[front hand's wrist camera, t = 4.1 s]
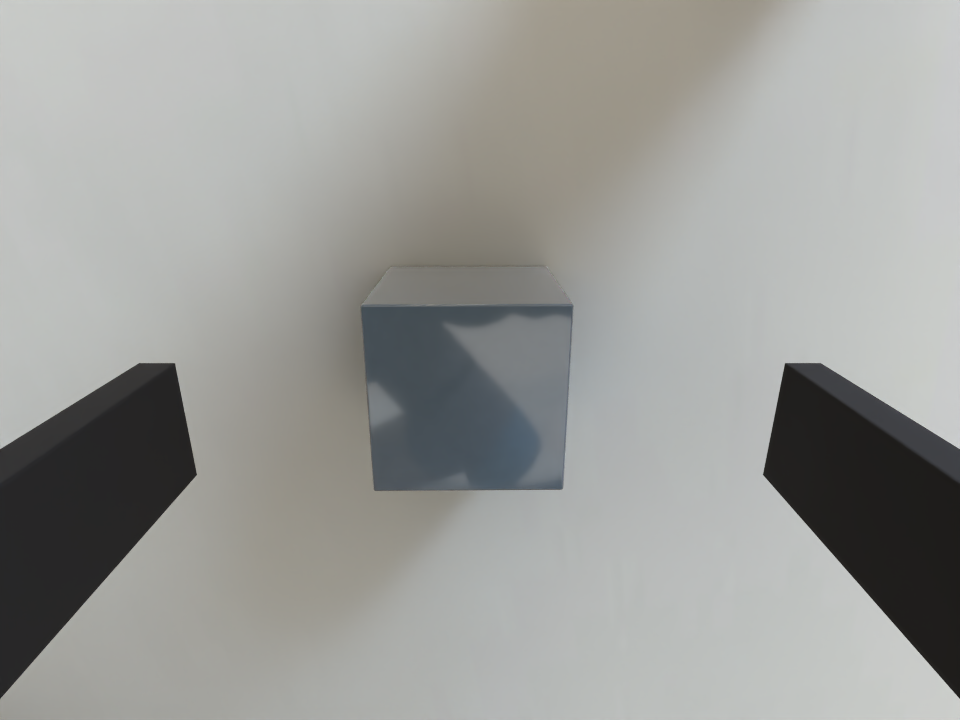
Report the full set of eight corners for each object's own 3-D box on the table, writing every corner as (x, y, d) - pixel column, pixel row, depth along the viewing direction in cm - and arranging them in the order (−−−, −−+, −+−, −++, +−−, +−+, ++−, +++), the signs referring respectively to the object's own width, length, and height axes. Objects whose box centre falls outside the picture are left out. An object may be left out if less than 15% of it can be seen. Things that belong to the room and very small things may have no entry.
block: (397, 411, 19) (373, 491, 15) (389, 266, 18) (360, 304, 13) (541, 410, 19) (563, 490, 15) (547, 265, 18) (574, 304, 13)
